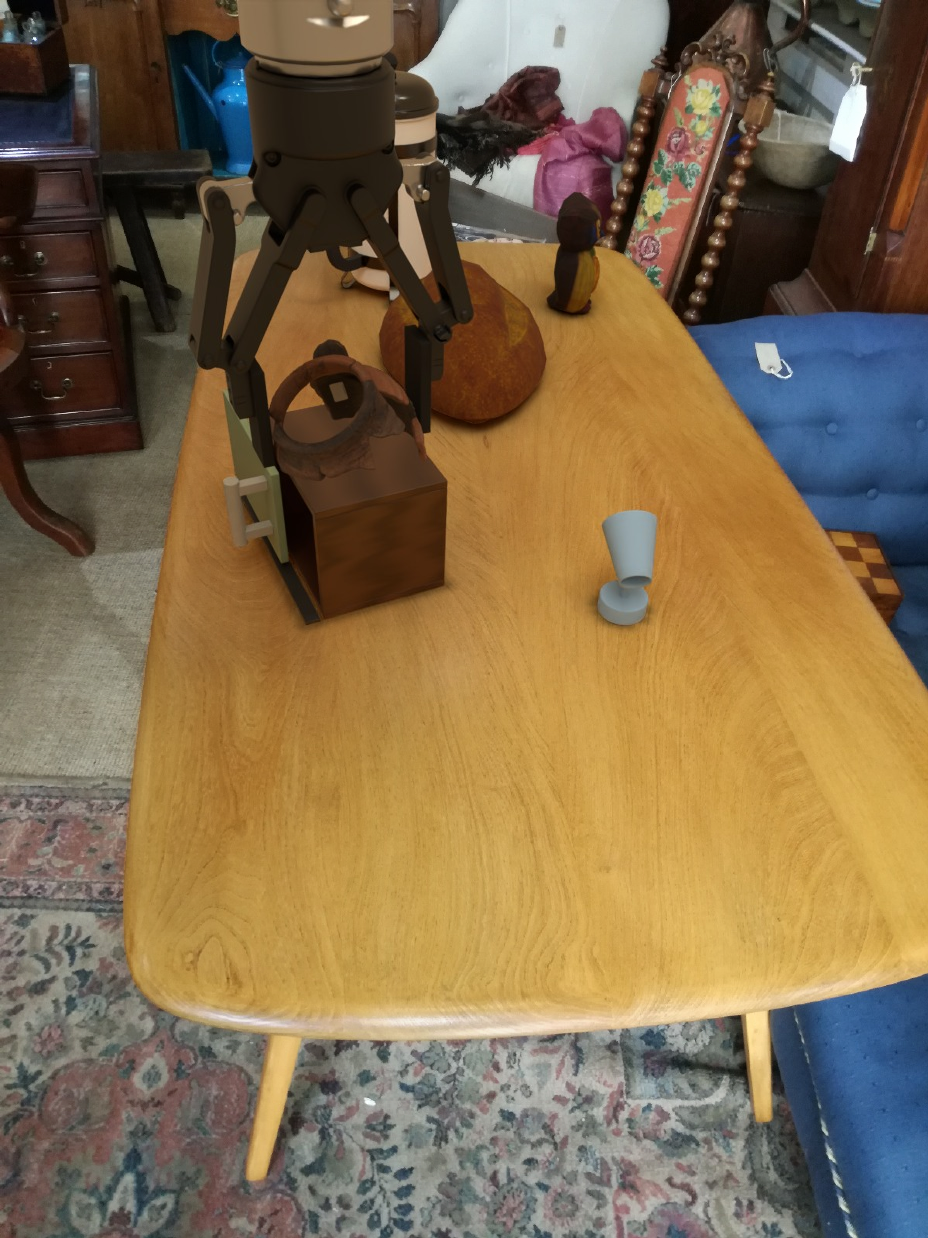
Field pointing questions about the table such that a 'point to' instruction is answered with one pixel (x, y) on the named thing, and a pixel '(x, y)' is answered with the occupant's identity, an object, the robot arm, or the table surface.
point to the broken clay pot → (342, 414)
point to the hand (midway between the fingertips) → (343, 439)
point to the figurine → (576, 254)
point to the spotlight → (628, 565)
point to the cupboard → (360, 524)
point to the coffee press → (410, 140)
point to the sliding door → (252, 490)
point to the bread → (475, 350)
